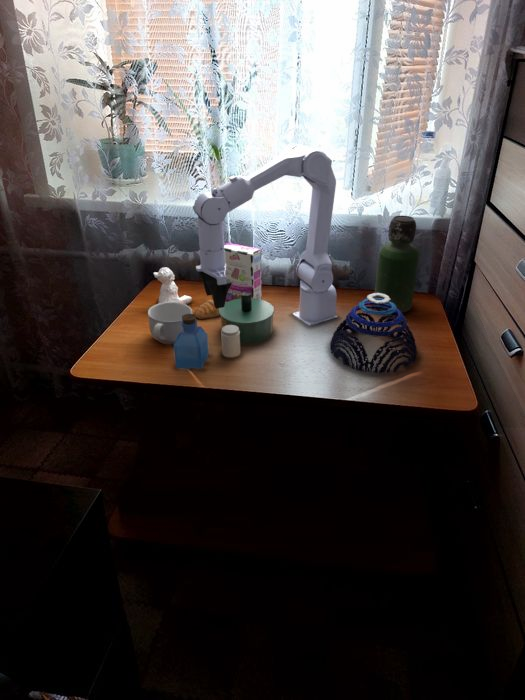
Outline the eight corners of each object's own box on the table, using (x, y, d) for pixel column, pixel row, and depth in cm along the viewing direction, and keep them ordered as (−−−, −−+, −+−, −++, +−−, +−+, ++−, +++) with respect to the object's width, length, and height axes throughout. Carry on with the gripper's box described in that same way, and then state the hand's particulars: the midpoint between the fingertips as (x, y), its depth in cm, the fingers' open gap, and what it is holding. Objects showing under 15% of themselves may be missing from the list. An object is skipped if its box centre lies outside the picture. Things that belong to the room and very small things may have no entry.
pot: (256, 316, 146) (256, 296, 143) (282, 336, 136) (282, 315, 133) (213, 328, 140) (212, 307, 137) (236, 350, 131) (236, 328, 128)
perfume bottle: (201, 370, 123) (198, 324, 117) (175, 368, 124) (171, 322, 118) (208, 356, 128) (205, 311, 122) (184, 354, 129) (179, 309, 123)
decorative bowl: (313, 344, 133) (316, 291, 125) (376, 324, 141) (382, 273, 134) (366, 384, 118) (372, 326, 111) (432, 359, 127) (442, 304, 119)
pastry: (202, 323, 143) (201, 310, 141) (189, 315, 147) (188, 302, 145) (231, 313, 148) (230, 300, 146) (217, 305, 152) (216, 292, 150)
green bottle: (371, 297, 155) (381, 212, 143) (408, 298, 155) (421, 212, 142) (375, 314, 147) (385, 224, 134) (414, 315, 146) (427, 225, 133)
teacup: (167, 325, 142) (164, 297, 138) (202, 333, 138) (200, 305, 134) (134, 349, 131) (130, 320, 127) (171, 359, 127) (168, 330, 123)
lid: (256, 297, 144) (256, 278, 141) (284, 317, 133) (284, 297, 131) (210, 309, 138) (208, 289, 135) (235, 332, 128) (234, 310, 125)
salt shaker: (235, 347, 132) (234, 322, 128) (243, 356, 128) (243, 330, 125) (219, 352, 130) (217, 327, 126) (227, 361, 127) (226, 335, 123)
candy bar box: (262, 303, 153) (262, 248, 144) (253, 310, 149) (252, 254, 140) (230, 295, 158) (228, 241, 149) (220, 301, 154) (217, 246, 146)
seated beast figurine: (193, 301, 154) (189, 262, 148) (181, 315, 147) (177, 274, 141) (162, 298, 156) (157, 259, 150) (149, 311, 149) (144, 271, 143)
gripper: (187, 239, 128) (191, 291, 135) (203, 260, 117) (207, 316, 124) (215, 235, 130) (218, 287, 137) (234, 256, 119) (236, 311, 126)
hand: (215, 300), depth 131 cm, fingers open, 7 cm apart
